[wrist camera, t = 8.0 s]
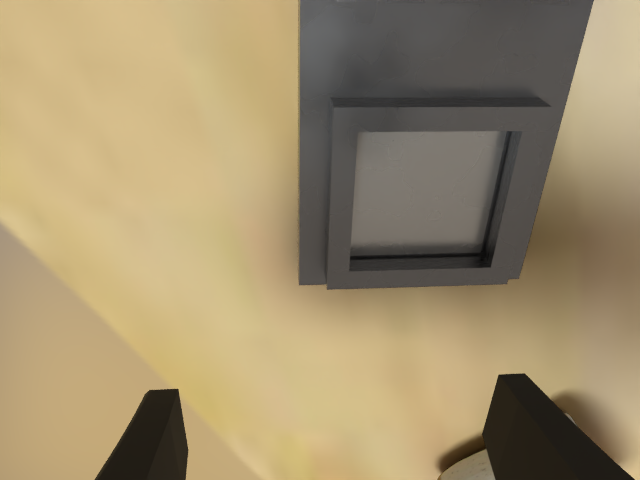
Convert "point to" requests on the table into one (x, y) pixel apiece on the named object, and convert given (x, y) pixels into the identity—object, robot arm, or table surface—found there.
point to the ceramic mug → (473, 467)
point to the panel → (427, 135)
